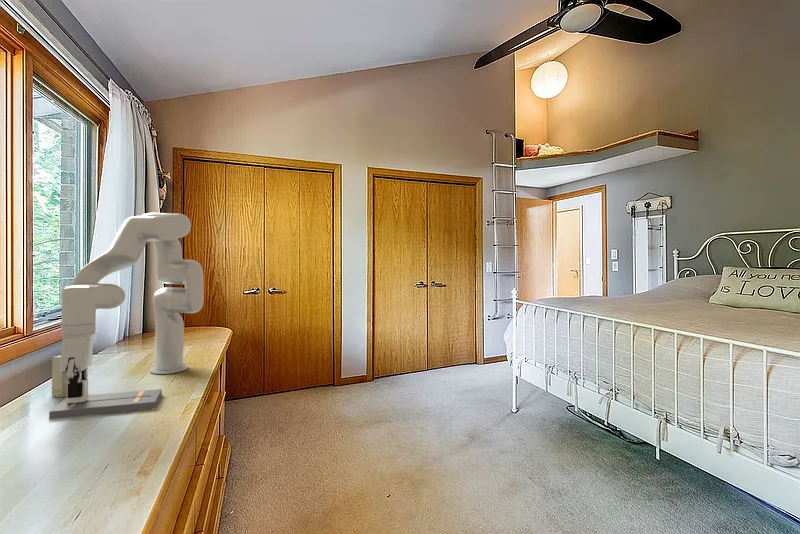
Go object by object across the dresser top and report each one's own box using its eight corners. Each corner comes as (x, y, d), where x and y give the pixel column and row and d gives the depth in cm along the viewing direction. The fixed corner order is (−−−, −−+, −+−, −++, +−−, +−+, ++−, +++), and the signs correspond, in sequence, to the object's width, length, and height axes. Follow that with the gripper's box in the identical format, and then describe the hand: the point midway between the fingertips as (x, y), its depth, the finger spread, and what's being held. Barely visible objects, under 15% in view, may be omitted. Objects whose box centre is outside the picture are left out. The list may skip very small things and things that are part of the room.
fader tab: (70, 399, 114) (71, 380, 114) (88, 398, 115) (88, 379, 115) (66, 403, 111) (66, 383, 111) (84, 401, 112) (84, 382, 112)
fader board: (66, 403, 117) (66, 396, 117) (161, 395, 126) (161, 388, 126) (49, 419, 106) (49, 411, 106) (154, 408, 115) (154, 401, 115)
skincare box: (62, 397, 122) (63, 357, 121) (50, 396, 122) (51, 356, 122) (82, 391, 128) (83, 353, 128) (71, 390, 129) (71, 352, 128)
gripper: (73, 325, 119) (72, 387, 119) (49, 335, 104) (48, 406, 104) (103, 324, 122) (102, 385, 122) (85, 334, 107) (83, 403, 107)
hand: (77, 394), depth 113 cm, fingers closed on fader tab, 3 cm apart
